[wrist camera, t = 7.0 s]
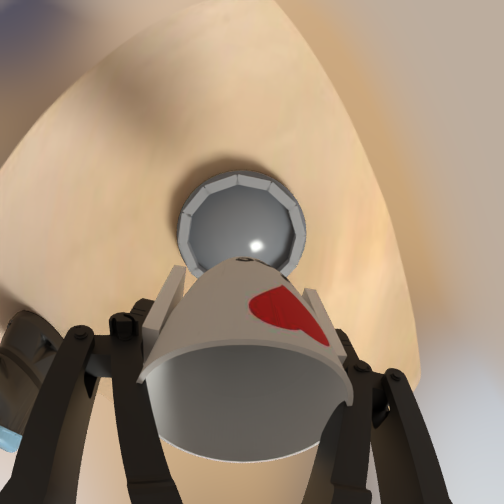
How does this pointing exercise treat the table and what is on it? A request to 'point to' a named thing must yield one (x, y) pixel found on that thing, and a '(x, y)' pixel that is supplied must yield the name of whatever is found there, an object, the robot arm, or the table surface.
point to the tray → (241, 223)
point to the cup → (243, 368)
